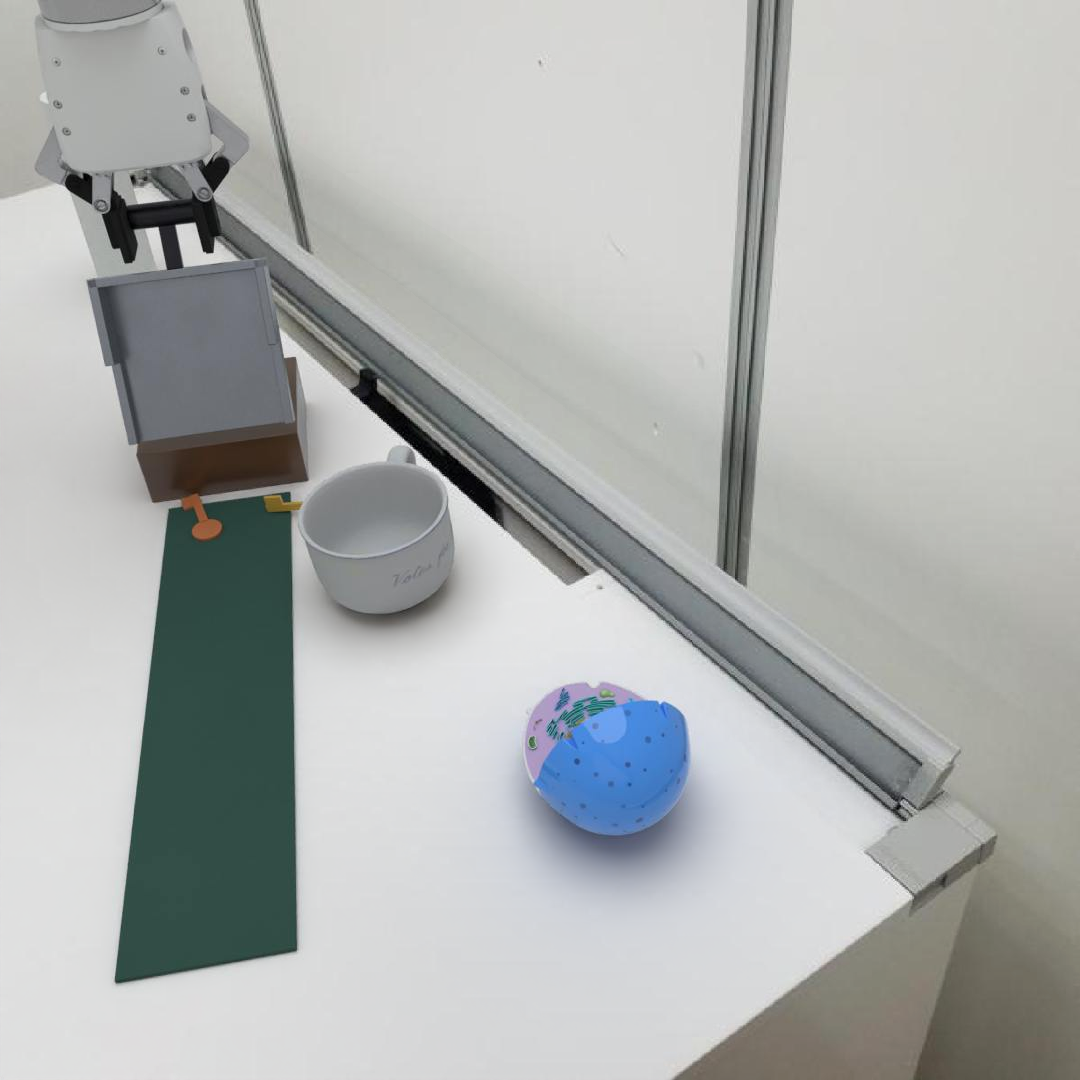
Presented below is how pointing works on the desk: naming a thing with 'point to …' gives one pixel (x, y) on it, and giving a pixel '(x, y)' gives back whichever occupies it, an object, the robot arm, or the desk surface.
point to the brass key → (280, 504)
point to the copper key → (202, 520)
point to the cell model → (607, 756)
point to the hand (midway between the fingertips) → (170, 248)
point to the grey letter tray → (191, 339)
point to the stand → (229, 455)
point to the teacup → (379, 534)
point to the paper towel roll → (95, 230)
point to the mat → (216, 752)
